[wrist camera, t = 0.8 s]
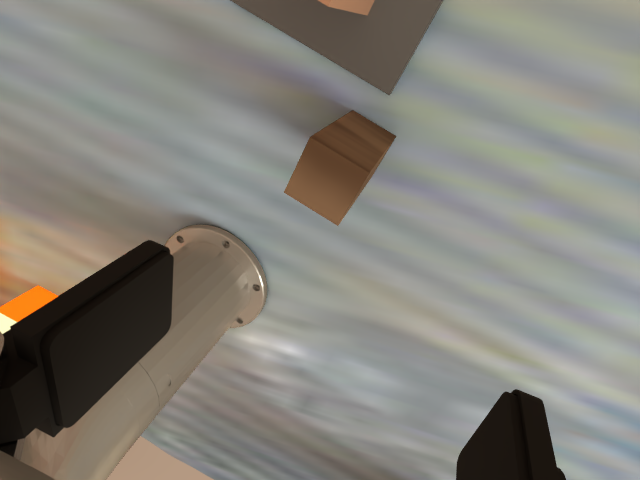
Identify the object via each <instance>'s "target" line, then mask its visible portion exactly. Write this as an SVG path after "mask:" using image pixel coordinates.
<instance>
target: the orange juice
mask: <svg viewBox="0 0 640 480" xmlns="http://www.w3.org/2000/svg"><path fill="white" fill-rule="evenodd" d="M56 297H58V296H57V295H55V294H53V293H51V292H49V291H48V290H46V289H44V288H42V287H40V286H36V287H34V288H33V289H31V290H29V291H27V292H26V293H24V294H22V295H20V296H19V297H17V298H15V299H13V300H12V301H10V302H8V303H7V304H5V305H3V306H1V307H0V331H1V333H2V334H3V333H5V332H6V331H8V330H10V329H11V328H10V326H12V325H13V324H15V323H17V322H18V321H20V320H21V319H23V318H25V317H26V316H28V315H29V314H31V313H33V312H34V311H36V310H37V309H39V308H40V307H42V306H44V305H45V304H47V303H48V302H50V301H52V300H53V299H55V298H56Z"/></svg>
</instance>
